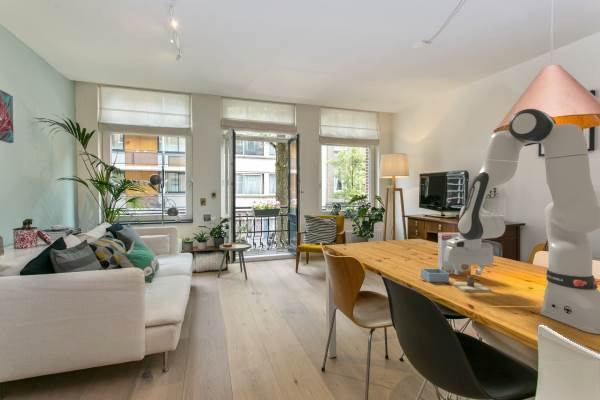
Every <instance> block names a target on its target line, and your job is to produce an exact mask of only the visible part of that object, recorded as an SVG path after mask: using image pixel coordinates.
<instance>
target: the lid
mask: <svg viewBox="0 0 600 400" xmlns="http://www.w3.org/2000/svg"><path fill="white" fill-rule="evenodd" d="M466 276H467V277H466V281H451V283H450V285H451V284H452V285H451V286H453V285H454V286H456V287H457V288H456V287H455V288H456V289H458V288H459V289H461V290H463V291H464V292H463V291H462V292H463V293H465V292H467V293H493V290H492V289H491V288H489V287H487V286H484V285H482V284H481V283H478V282H476V281H475V276H473V275H466ZM454 286H453V287H454ZM459 289H458V290H459ZM461 290H460V291H461Z"/></svg>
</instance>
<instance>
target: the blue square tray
mask: <svg viewBox="0 0 600 400" xmlns="http://www.w3.org/2000/svg"><path fill="white" fill-rule="evenodd" d="M420 278H421V279H423V280H424V281H426V282H427V283H430V284H439V283H441V284H446V283H447V284H448V283H449V284H450V275H449V273H447V272H445V271H443V270H441V269H438V268H420Z"/></svg>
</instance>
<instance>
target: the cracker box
mask: <svg viewBox="0 0 600 400" xmlns="http://www.w3.org/2000/svg"><path fill="white" fill-rule="evenodd" d="M458 233H459V232H448V231H447V232H445V231H444V232H438V233H437V259H438V260H437V266H438V267H437V269H441V270H443V271H445V272H447V273H449V276H457V275H456V274H455V273H454V268H453V266H452V264H448V263H446V262H445V261H444V251H445V248H446V246H448V245H447V244H446V241H447V240H449V239H452V238H455V237H458ZM457 269H458V270H460V274H459V275H458V276H472V264H458V267H457Z"/></svg>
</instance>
